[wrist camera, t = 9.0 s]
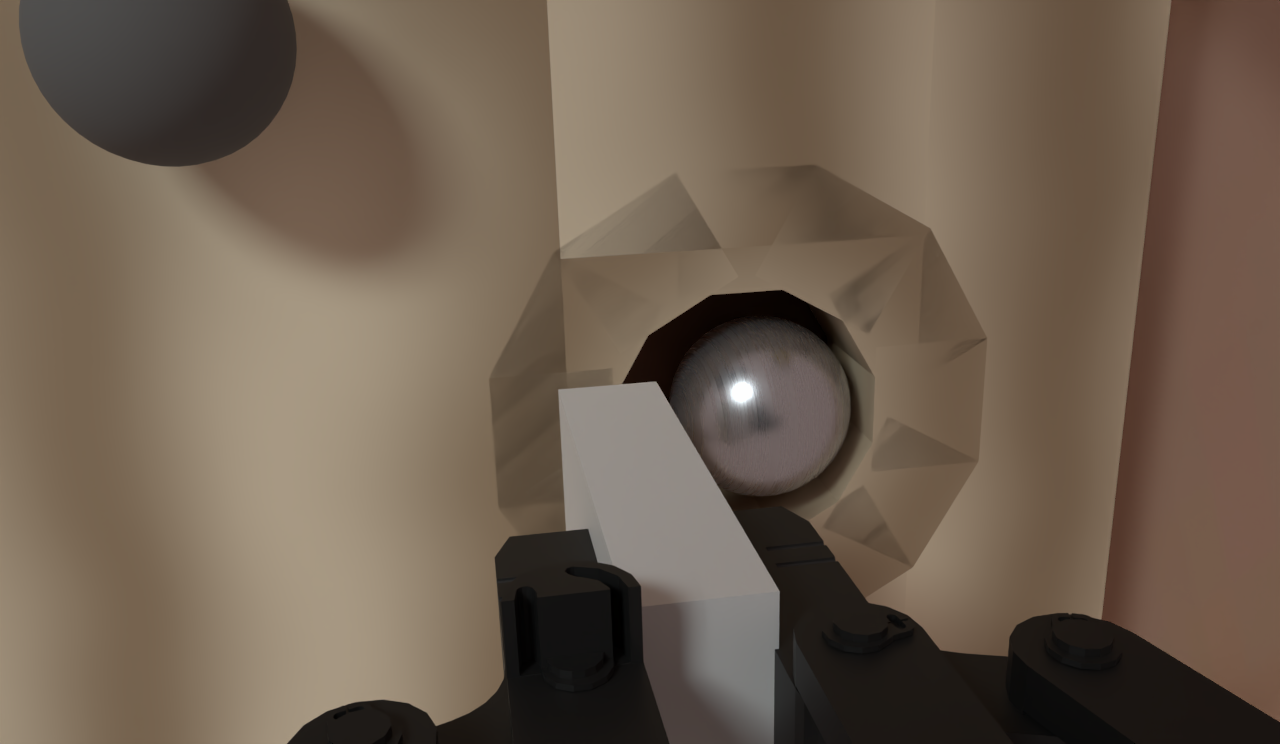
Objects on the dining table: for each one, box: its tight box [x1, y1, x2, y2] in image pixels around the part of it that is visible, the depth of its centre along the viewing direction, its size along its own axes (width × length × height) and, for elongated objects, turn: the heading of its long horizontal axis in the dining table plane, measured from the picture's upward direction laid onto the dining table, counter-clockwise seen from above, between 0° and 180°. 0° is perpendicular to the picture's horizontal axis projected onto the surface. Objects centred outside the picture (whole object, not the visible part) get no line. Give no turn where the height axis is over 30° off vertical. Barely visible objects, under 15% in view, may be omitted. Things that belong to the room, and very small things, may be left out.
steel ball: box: [669, 316, 851, 496], centre depth 20 cm, size 3×3×3 cm
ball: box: [19, 0, 297, 167], centre depth 14 cm, size 3×3×3 cm
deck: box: [0, 0, 1171, 744], centre depth 19 cm, size 26×18×2 cm
